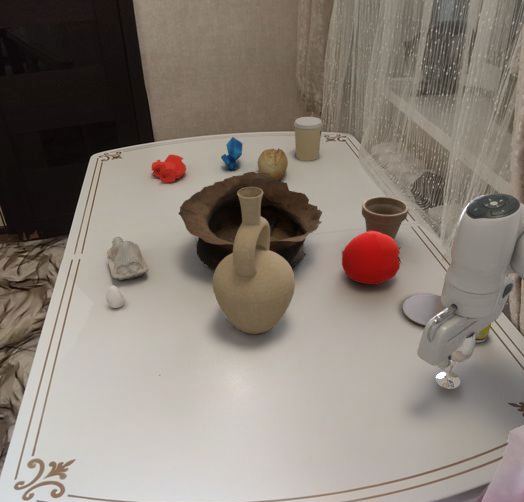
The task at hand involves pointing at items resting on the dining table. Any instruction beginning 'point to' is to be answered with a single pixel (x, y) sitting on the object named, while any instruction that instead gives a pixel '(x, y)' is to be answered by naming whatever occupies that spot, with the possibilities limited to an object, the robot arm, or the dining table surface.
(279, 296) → the vase
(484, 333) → the supplement bottle
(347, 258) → the red ball
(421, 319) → the coaster
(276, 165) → the bread roll
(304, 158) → the coffee cup
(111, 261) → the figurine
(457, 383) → the wineglass
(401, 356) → the dining table surface
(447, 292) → the robot arm
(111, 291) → the egg
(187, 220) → the bowl
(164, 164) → the animal figurine
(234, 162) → the crystal
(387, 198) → the flower pot
